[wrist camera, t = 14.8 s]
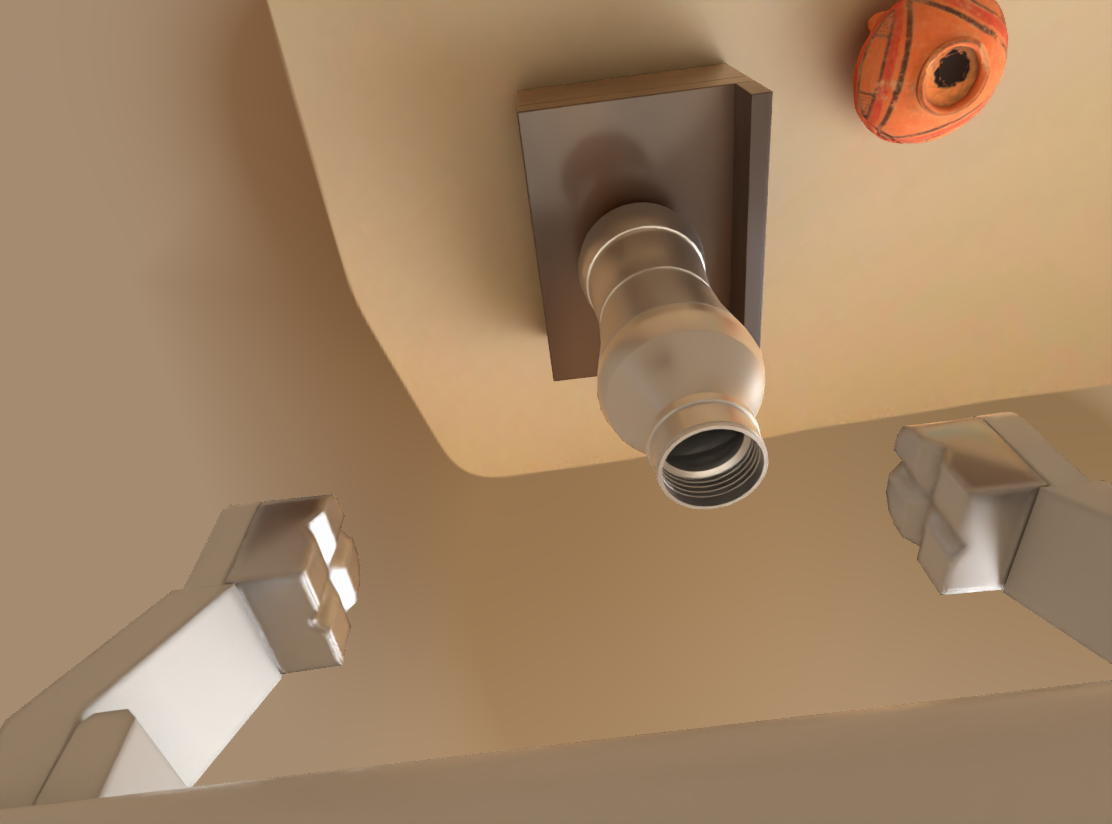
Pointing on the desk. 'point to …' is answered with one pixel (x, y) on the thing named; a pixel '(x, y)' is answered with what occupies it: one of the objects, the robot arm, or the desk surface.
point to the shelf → (646, 184)
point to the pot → (929, 67)
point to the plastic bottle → (673, 357)
